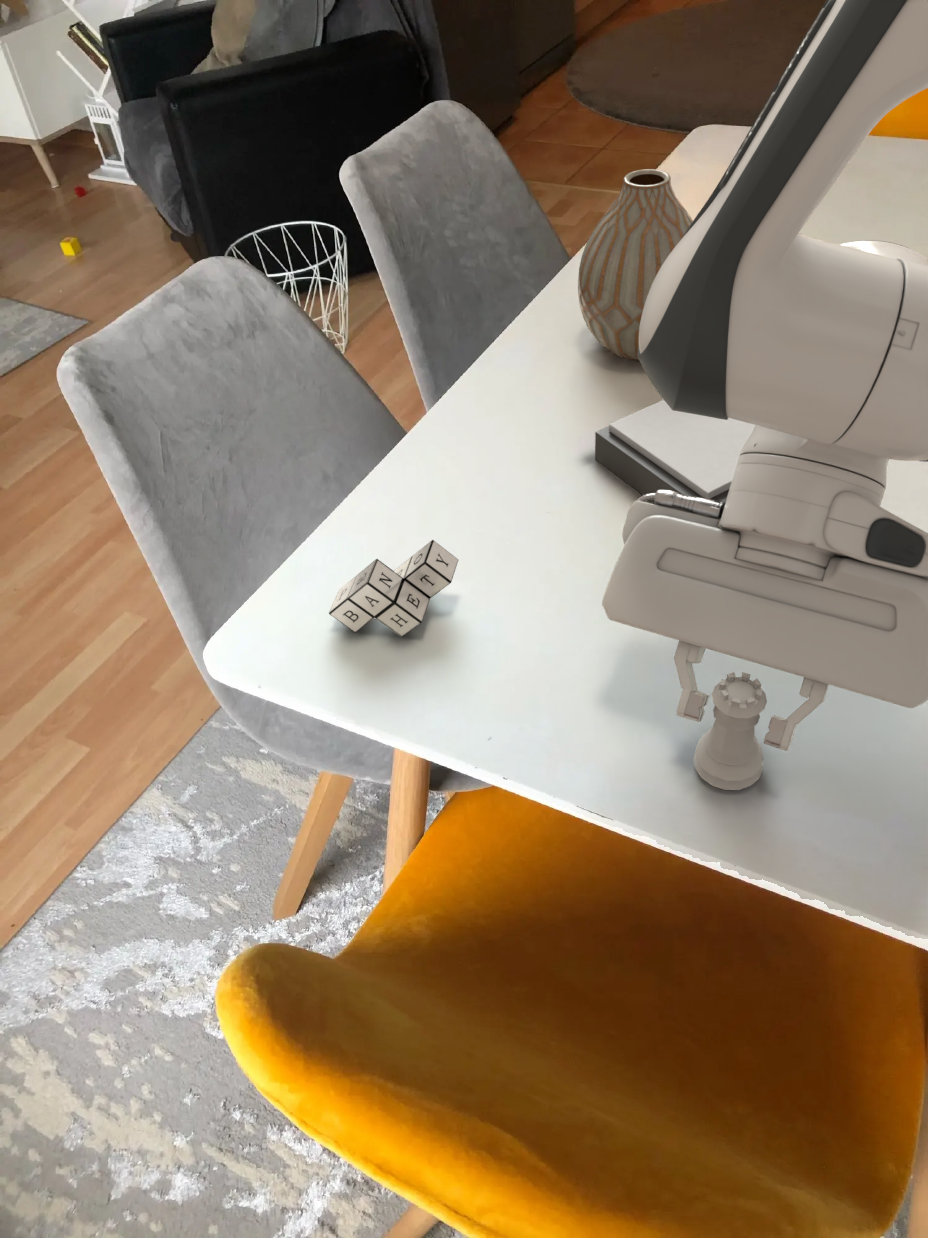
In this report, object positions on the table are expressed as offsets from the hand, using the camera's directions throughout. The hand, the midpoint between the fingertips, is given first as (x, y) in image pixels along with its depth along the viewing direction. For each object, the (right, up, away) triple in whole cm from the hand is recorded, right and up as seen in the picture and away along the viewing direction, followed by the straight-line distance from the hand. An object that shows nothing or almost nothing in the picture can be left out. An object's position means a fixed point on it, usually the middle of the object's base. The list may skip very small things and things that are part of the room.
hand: (731, 732), depth 60 cm
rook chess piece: (+1, -3, +4) cm, 5 cm away
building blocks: (-22, +8, +17) cm, 29 cm away
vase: (+2, +37, +43) cm, 57 cm away
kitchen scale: (+6, +20, +26) cm, 34 cm away
